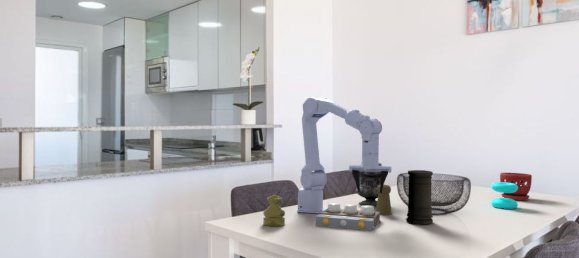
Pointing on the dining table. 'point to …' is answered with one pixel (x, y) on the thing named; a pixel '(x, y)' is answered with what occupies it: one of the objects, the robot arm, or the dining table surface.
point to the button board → (355, 215)
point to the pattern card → (345, 222)
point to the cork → (384, 200)
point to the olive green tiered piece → (274, 213)
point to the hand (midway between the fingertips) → (369, 192)
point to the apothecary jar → (369, 186)
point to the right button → (367, 210)
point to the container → (419, 197)
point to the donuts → (504, 202)
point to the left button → (334, 207)
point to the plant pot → (522, 190)
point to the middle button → (350, 209)
